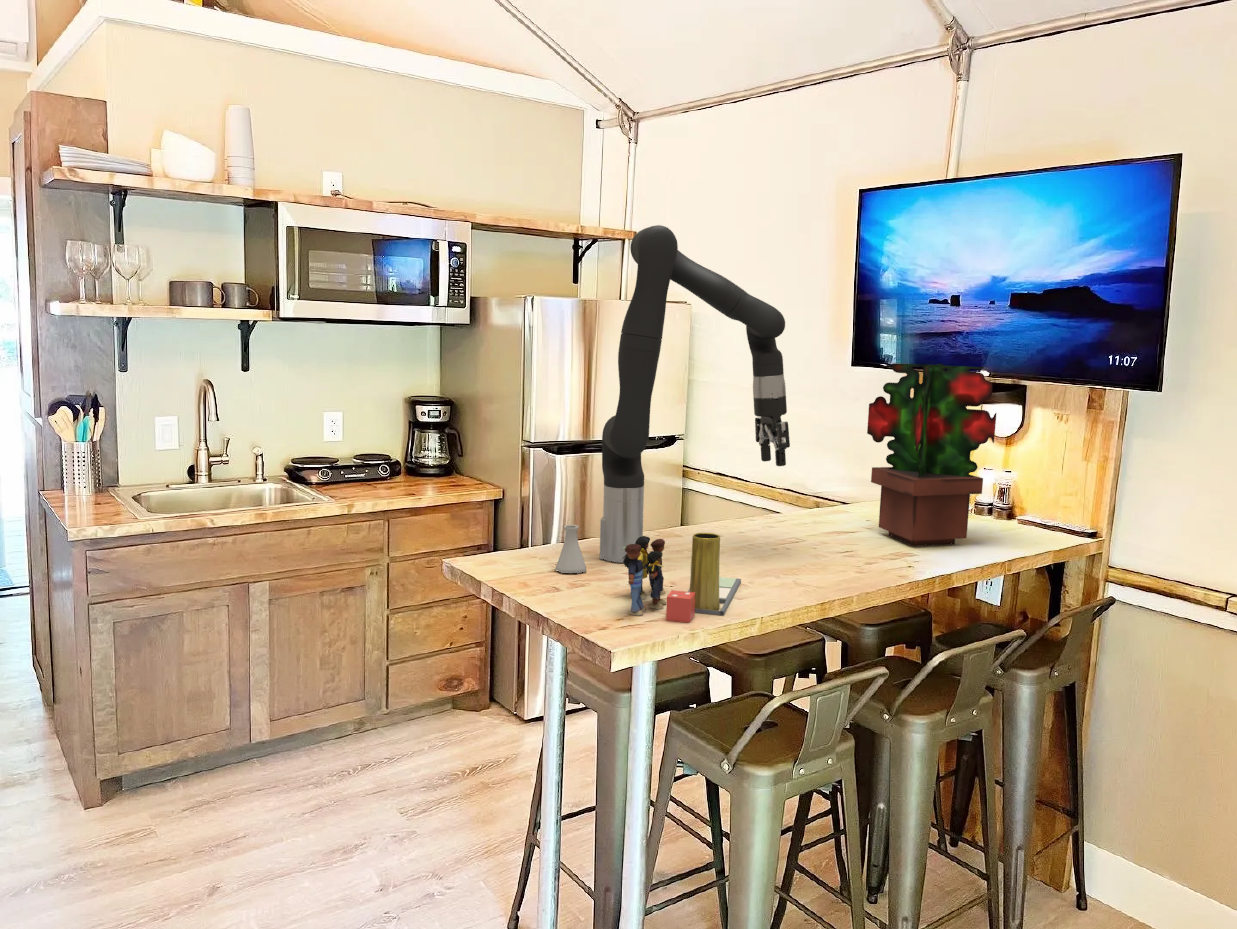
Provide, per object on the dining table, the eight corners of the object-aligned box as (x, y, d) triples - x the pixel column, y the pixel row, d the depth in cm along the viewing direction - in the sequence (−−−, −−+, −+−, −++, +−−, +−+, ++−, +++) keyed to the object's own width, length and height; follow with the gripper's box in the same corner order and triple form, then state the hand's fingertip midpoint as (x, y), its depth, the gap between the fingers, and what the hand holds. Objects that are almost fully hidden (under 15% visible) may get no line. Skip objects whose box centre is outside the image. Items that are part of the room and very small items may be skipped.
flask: (590, 574, 209) (591, 529, 207) (558, 576, 207) (558, 530, 205) (582, 565, 216) (583, 522, 214) (550, 567, 214) (551, 523, 212)
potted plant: (933, 529, 262) (946, 362, 255) (985, 548, 241) (1000, 368, 234) (860, 532, 256) (871, 362, 249) (907, 552, 235) (920, 367, 228)
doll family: (671, 621, 178) (673, 550, 176) (622, 620, 178) (624, 550, 176) (663, 586, 201) (665, 523, 199) (620, 585, 201) (621, 522, 199)
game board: (676, 610, 184) (677, 606, 184) (699, 578, 207) (699, 574, 207) (723, 615, 182) (723, 611, 182) (740, 582, 205) (741, 578, 205)
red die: (666, 620, 178) (666, 596, 178) (671, 613, 183) (671, 590, 182) (690, 622, 177) (690, 598, 176) (694, 615, 181) (695, 592, 181)
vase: (723, 611, 184) (726, 539, 182) (692, 612, 183) (694, 539, 181) (714, 602, 190) (717, 531, 188) (684, 603, 189) (687, 532, 187)
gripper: (743, 394, 230) (747, 461, 232) (766, 398, 216) (770, 469, 219) (772, 391, 232) (775, 457, 234) (797, 395, 218) (801, 465, 220)
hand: (773, 463), depth 226 cm, fingers open, 8 cm apart
